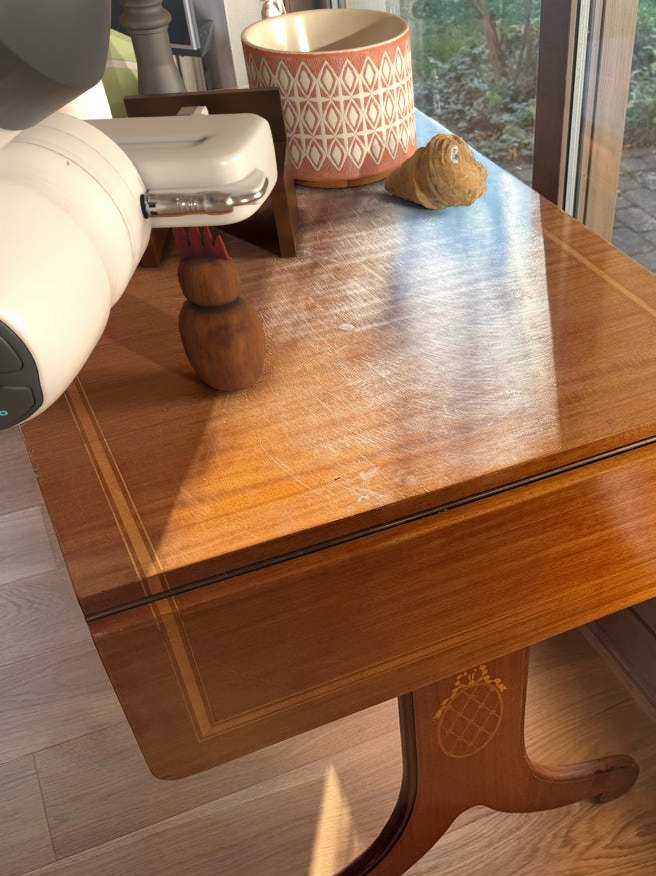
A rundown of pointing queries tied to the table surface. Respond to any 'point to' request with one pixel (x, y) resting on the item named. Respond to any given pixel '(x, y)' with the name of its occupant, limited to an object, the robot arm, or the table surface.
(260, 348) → the wooden figurine
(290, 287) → the table surface
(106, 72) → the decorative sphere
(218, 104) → the miniature wooden bench
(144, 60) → the candle holder
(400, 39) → the planter
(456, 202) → the seashell
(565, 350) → the table surface
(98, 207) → the robot arm
